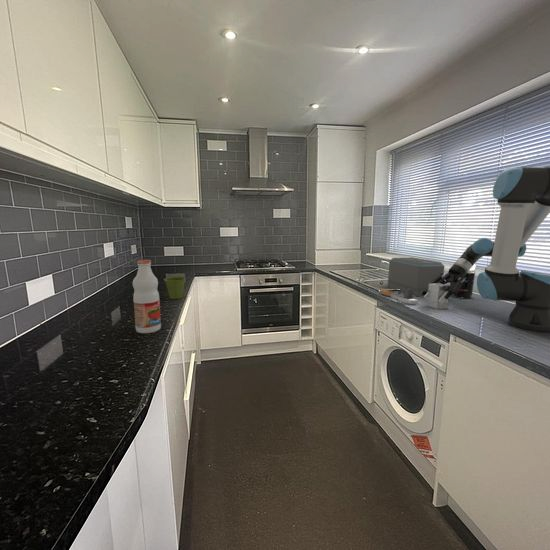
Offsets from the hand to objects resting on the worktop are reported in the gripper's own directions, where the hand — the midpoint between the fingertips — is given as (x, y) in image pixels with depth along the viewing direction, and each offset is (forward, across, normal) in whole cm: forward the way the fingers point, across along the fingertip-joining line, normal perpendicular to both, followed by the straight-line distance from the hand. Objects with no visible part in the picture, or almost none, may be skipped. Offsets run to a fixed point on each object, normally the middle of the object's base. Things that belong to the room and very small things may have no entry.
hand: (432, 300), depth 152 cm
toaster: (-11, +37, -17) cm, 43 cm away
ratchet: (+6, +20, +1) cm, 21 cm away
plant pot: (+93, +56, +88) cm, 140 cm away
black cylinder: (-23, +14, -29) cm, 39 cm away
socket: (0, 0, -5) cm, 5 cm away
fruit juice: (+100, +5, +94) cm, 137 cm away
